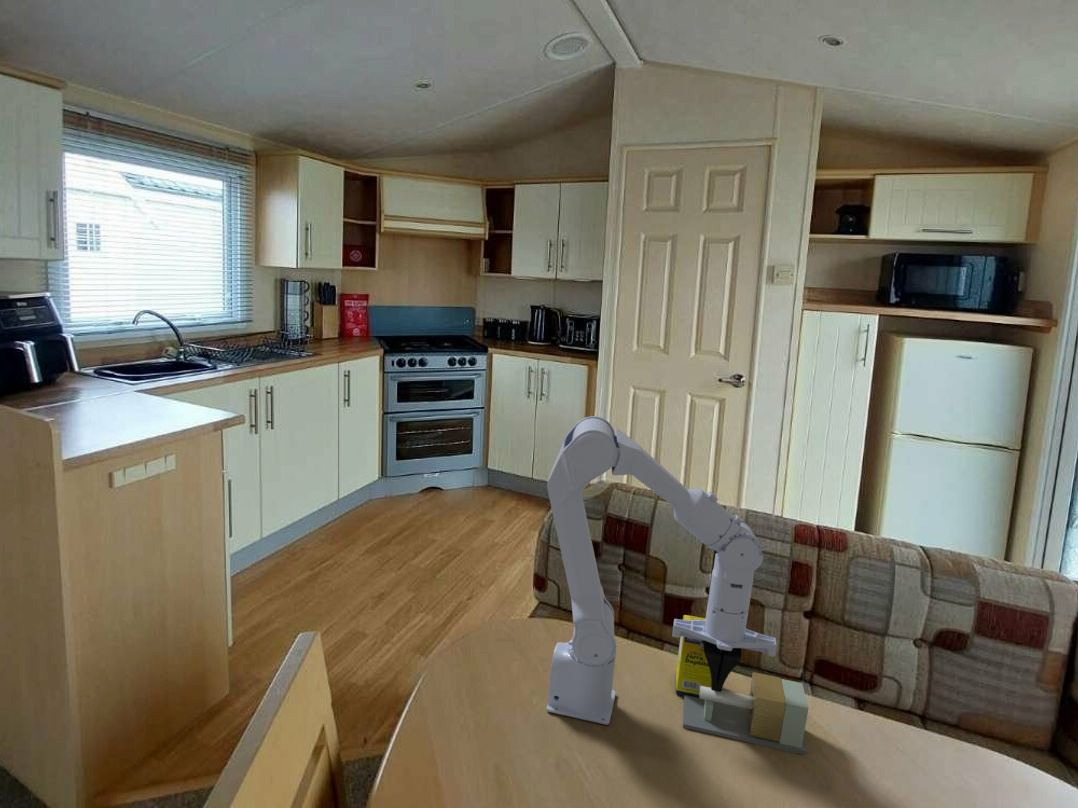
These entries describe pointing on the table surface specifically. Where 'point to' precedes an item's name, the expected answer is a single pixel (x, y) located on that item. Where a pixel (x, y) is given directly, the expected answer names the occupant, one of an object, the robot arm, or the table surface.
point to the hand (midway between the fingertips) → (716, 687)
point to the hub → (766, 707)
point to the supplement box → (691, 665)
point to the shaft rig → (731, 717)
